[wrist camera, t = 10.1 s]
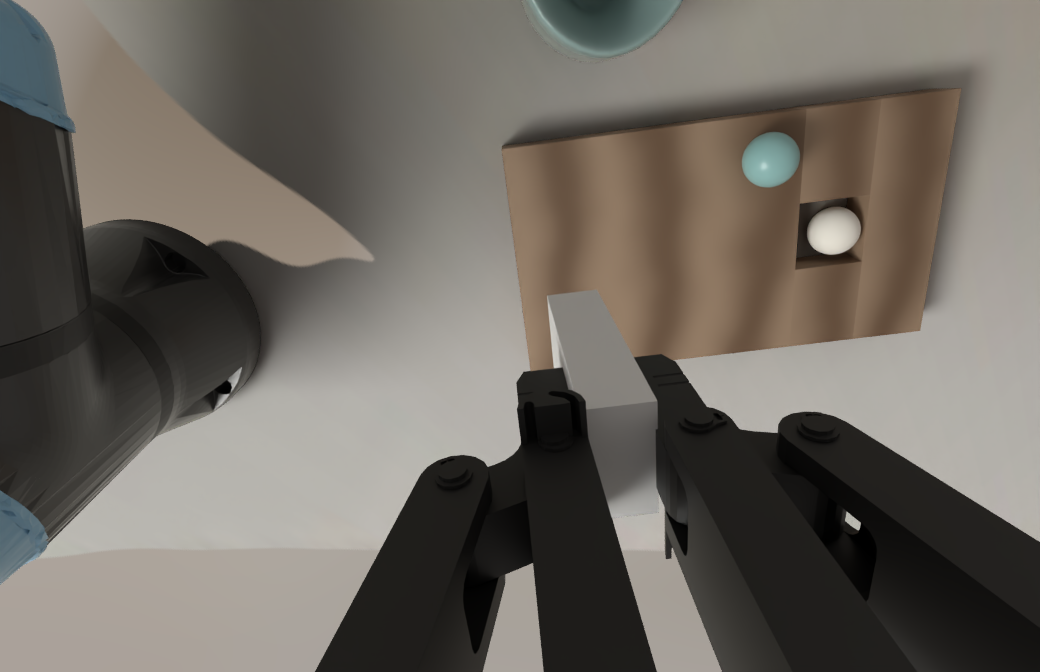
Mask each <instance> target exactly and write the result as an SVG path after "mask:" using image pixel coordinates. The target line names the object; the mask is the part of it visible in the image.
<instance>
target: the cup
mask: <svg viewBox="0 0 1040 672" xmlns="http://www.w3.org/2000/svg"><path fill="white" fill-rule="evenodd" d="M682 1H683V0H521V3H522V6H523V8H524V11H525V13H526V16H527V18H528V20H529V22H530V23H531V25H532V27H533V28H534V30H535V32H536V33H537V34H538V35H539V36H540V37H541V39H542V40H543V41H544V42H545V43H546V44H547V45H549V46H550V47H551V48H552V49H553V50H555V51H556V52H558V53H560V54H561V55H563V56H565V57H567V58H569V59H573V60H576V61H579V62H590V63H598V62H603V61H607V60H612V59H616V58H619V57H621V56H624V55H626V54H628V53H630V52H632V51H634V50H636V49H638V48H640V47H641V46H643V45H644V44H645V43H647V42H648V41H649V40H651V39H652V38H653V37H655V36H656V35H657V34H658V33H659V32H660V30H661V29H662V28H663V27H664V26H665V25H666V24H667V23H668V22H669V21H670V19H671V18H672V17H673V15H674V14H675V12H676V11H677V10H678V8H679V7H680V5H681V3H682Z"/></svg>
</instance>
